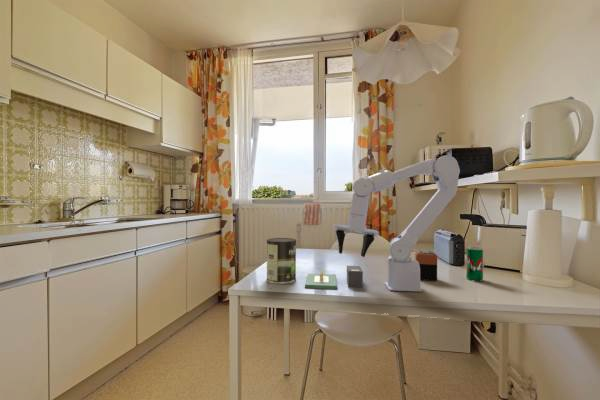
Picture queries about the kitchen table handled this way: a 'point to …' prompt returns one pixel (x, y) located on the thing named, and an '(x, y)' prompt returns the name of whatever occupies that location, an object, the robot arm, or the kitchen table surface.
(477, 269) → the soda can
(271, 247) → the coffee can
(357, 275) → the block
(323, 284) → the header board
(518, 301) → the kitchen table surface
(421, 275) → the battery
